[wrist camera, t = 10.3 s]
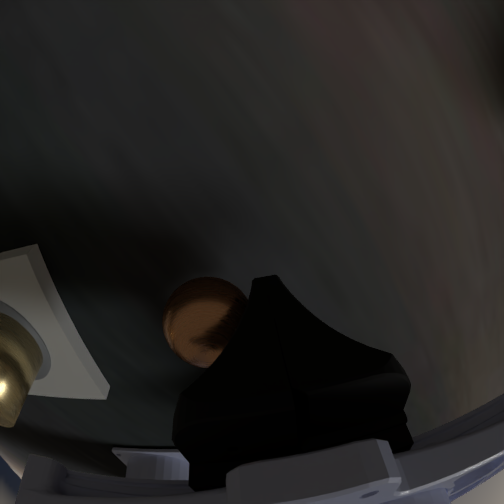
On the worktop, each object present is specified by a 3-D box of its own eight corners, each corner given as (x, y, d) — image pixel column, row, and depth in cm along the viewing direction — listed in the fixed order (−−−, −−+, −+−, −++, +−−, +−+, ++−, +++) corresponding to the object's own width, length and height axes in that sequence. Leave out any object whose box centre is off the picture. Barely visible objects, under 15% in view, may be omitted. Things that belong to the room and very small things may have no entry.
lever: (303, 387, 17) (315, 438, 14) (246, 405, 18) (251, 455, 14) (230, 247, 13) (232, 299, 9) (154, 279, 13) (135, 334, 10)
